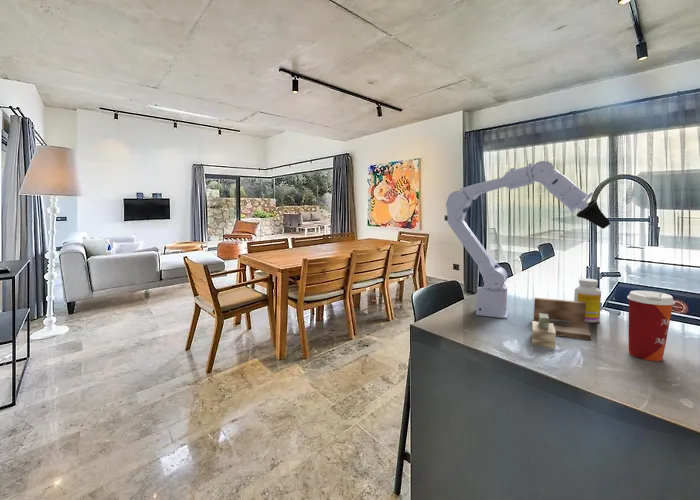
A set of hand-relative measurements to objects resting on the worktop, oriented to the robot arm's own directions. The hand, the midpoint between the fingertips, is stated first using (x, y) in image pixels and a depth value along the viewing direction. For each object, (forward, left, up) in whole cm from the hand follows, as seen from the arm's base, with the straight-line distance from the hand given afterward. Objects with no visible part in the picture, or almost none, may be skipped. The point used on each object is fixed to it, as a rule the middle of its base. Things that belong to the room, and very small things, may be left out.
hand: (605, 225), depth 91 cm
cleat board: (-10, -5, -30) cm, 32 cm away
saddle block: (-15, -17, -30) cm, 38 cm away
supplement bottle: (-2, +7, -30) cm, 31 cm away
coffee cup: (+6, -17, -30) cm, 35 cm away
